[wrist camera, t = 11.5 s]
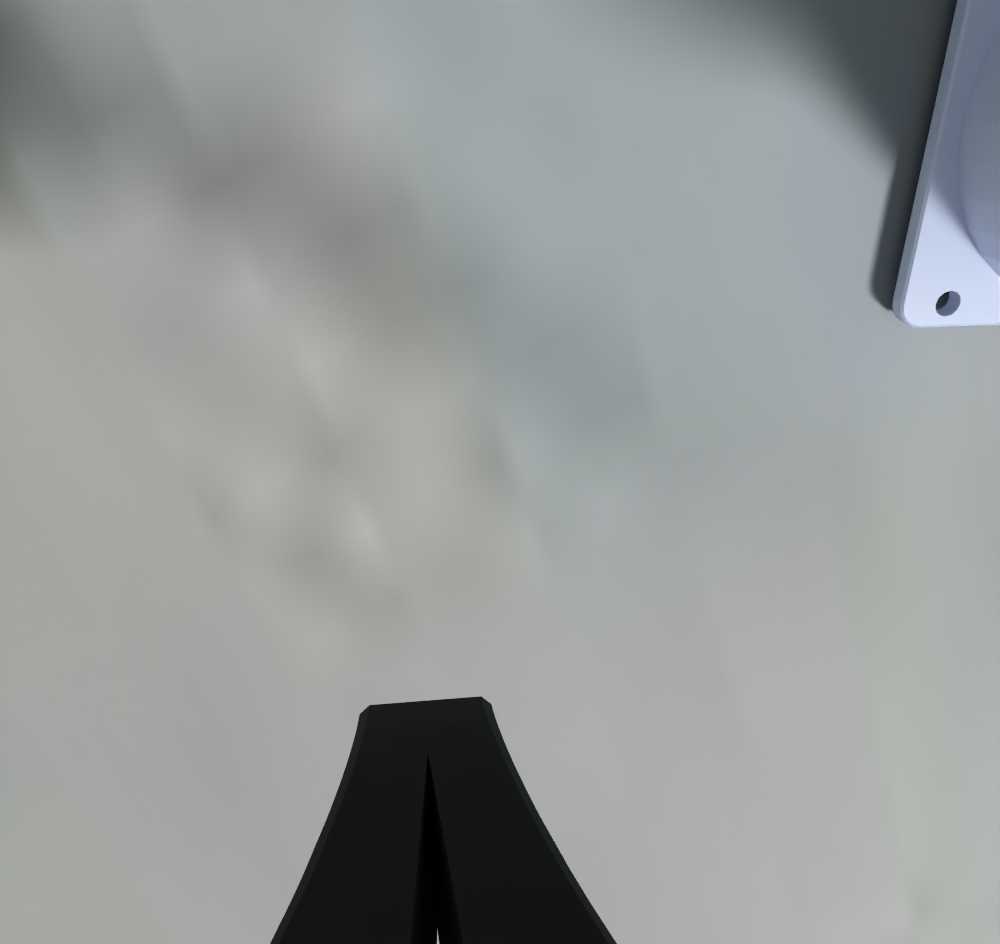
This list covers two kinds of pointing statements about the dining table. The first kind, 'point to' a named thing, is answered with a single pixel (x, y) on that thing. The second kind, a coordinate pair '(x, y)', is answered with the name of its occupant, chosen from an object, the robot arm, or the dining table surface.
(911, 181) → the dining table surface
